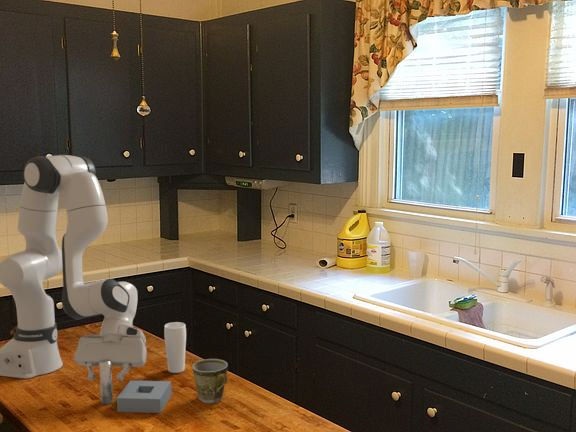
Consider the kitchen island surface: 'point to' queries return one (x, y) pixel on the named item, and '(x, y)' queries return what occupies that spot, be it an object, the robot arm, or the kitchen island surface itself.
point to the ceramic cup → (210, 379)
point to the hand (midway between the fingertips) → (105, 379)
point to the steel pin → (106, 381)
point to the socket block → (144, 396)
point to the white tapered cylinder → (175, 346)
